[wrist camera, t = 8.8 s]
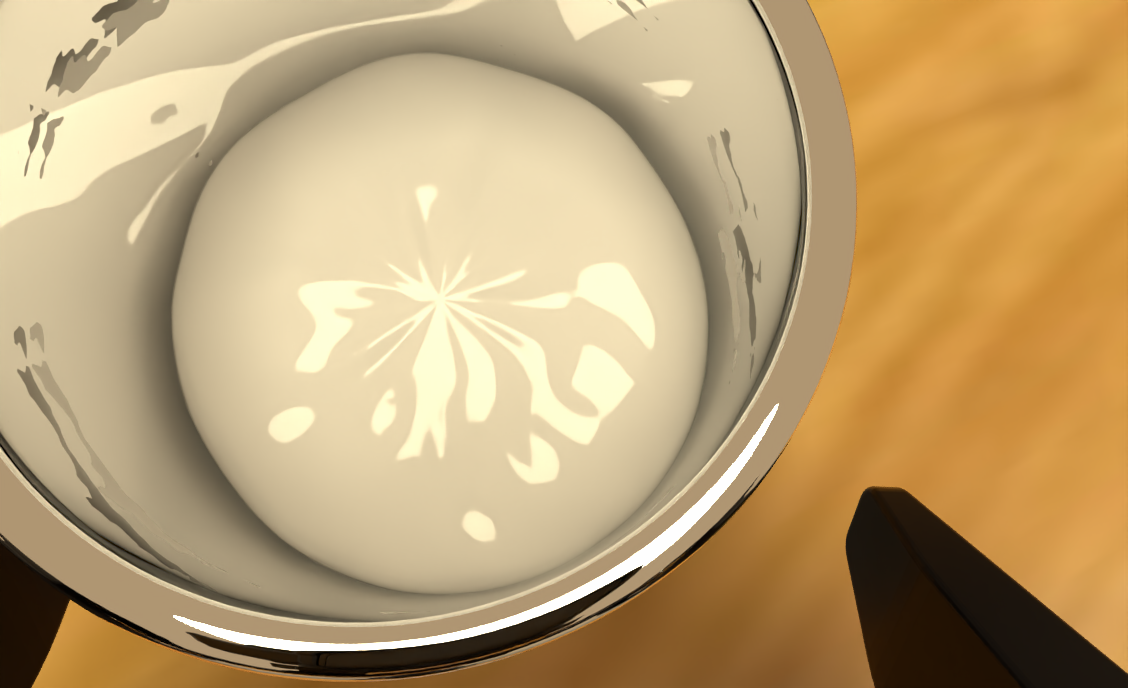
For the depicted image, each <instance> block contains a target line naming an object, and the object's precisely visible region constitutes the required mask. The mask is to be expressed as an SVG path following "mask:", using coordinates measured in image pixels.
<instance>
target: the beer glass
mask: <svg viewBox="0 0 1128 688" xmlns="http://www.w3.org/2000/svg"><path fill="white" fill-rule="evenodd" d="M857 209H858V205H857V176H856V162H855V154H854V146H853V139H852V133H851V126H850V120H849V116H848V111H847V107H846V103H845V98H844V95H843V91H842V88H841V84H840V80H839V77H838V74H837V71H836V68H835V65H834V61H833V58H832V56H831V53H830V50H829V48H828V45H827V43H826V40H825V37H824V35H823V33H822V31H821V28H820V26H819V24H818V22H817V19H816V17H815V15H814V13H813V11H812V9H811V7H810V5H809V3H808V1H807V0H0V543H1V544H2V545H3V546H4V547H5V548H6V549H7V550H8V551H9V552H10V553H11V554H12V555H13V556H15V557H16V558H17V559H18V560H19V561H20V562H21V563H22V564H24V565H25V566H26V567H27V568H29V569H30V570H31V571H32V572H33V573H35V574H36V575H37V576H38V577H40V578H41V579H42V580H43V581H45V582H46V583H48V584H49V585H50V586H52V587H53V588H54V589H56V590H57V591H59V592H60V593H61V594H63V595H64V596H66V597H67V598H69V599H70V600H72V601H73V602H75V603H77V604H78V605H80V606H81V607H83V608H84V609H86V610H88V611H89V612H91V613H93V614H95V615H96V616H98V617H100V618H101V619H103V620H105V621H107V622H108V623H110V624H112V625H115V626H117V627H119V628H121V629H123V630H125V631H127V632H129V633H131V634H133V635H135V636H137V637H140V638H142V639H144V640H146V641H149V642H151V643H153V644H155V645H158V646H161V647H163V648H166V649H169V650H172V651H174V652H177V653H180V654H183V655H186V656H189V657H192V658H195V659H198V660H201V661H205V662H208V663H212V664H216V665H220V666H224V667H228V668H232V669H236V670H241V671H246V672H251V673H256V674H262V675H269V676H276V677H283V678H291V679H301V680H312V681H332V682H371V681H386V680H399V679H408V678H417V677H425V676H431V675H437V674H443V673H449V672H454V671H458V670H463V669H468V668H473V667H477V666H480V665H484V664H488V663H491V662H495V661H499V660H502V659H505V658H508V657H511V656H515V655H518V654H521V653H524V652H527V651H529V650H532V649H535V648H537V647H540V646H542V645H545V644H548V643H550V642H553V641H555V640H557V639H559V638H562V637H564V636H566V635H568V634H571V633H573V632H575V631H577V630H579V629H581V628H583V627H585V626H587V625H589V624H591V623H593V622H595V621H597V620H599V619H601V618H603V617H604V616H606V615H608V614H610V613H611V612H613V611H615V610H617V609H618V608H620V607H622V606H623V605H625V604H627V603H628V602H630V601H631V600H633V599H634V598H636V597H638V596H639V595H641V594H642V593H644V592H645V591H647V590H648V589H650V588H651V587H652V586H654V585H655V584H657V583H658V582H659V581H661V580H662V579H664V578H665V577H666V576H668V575H669V574H670V573H671V572H673V571H674V570H675V569H676V568H678V567H679V566H680V565H681V564H683V563H684V562H685V561H686V560H687V559H689V558H690V557H691V556H692V555H693V554H694V553H695V552H697V551H698V550H699V549H700V548H701V547H702V546H703V545H704V544H706V543H707V542H708V541H709V540H710V539H711V538H712V537H713V536H714V535H715V534H716V533H717V532H718V531H719V530H720V529H721V528H722V527H723V526H724V525H725V524H726V523H727V522H728V521H729V519H730V518H731V517H732V516H733V515H734V514H735V513H736V512H737V511H738V510H739V509H740V508H741V506H742V505H743V504H744V503H745V502H746V500H747V499H748V498H749V497H750V496H751V495H752V493H753V492H754V491H755V490H756V488H757V487H758V486H759V484H760V483H761V482H762V480H763V479H764V478H765V476H766V475H767V474H768V472H769V471H770V470H771V468H772V467H773V465H774V464H775V462H776V461H777V459H778V458H779V456H780V455H781V453H782V452H783V451H784V449H785V447H786V446H787V444H788V442H789V441H790V439H791V438H792V436H793V434H794V433H795V431H796V429H797V427H798V426H799V424H800V422H801V420H802V418H803V416H804V415H805V413H806V411H807V409H808V407H809V405H810V403H811V401H812V399H813V397H814V395H815V393H816V391H817V388H818V386H819V384H820V381H821V379H822V377H823V374H824V372H825V369H826V367H827V364H828V361H829V359H830V356H831V353H832V351H833V348H834V345H835V342H836V339H837V335H838V332H839V328H840V325H841V322H842V318H843V314H844V310H845V306H846V302H847V298H848V293H849V287H850V282H851V277H852V270H853V262H854V255H855V244H856V233H857Z"/></svg>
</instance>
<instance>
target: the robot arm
mask: <svg viewBox="0 0 1128 688" xmlns="http://www.w3.org/2000/svg"><path fill="white" fill-rule="evenodd" d="M846 555H847V560H848V565H849V570H850V575H851V580H852V585H853V590H854V595H855V600H856V605H857V609H858V614H859V619H860V624H861V629H862V634H863V639H864V644H865V649H866V654H867V658H868V662H869V667H870V671H871V675H872V679H873V682H874V686H875V688H1128V673H1126V672H1125V671H1124V670H1123V669H1121V668H1120V667H1119V666H1118V665H1117V664H1115V663H1114V662H1113V661H1112V660H1111V659H1109V658H1108V657H1107V656H1106V655H1105V654H1103V653H1102V652H1101V651H1100V650H1098V649H1097V648H1096V647H1095V646H1094V645H1092V644H1091V643H1090V642H1089V641H1088V640H1086V639H1085V638H1084V637H1083V636H1082V635H1080V634H1079V633H1078V632H1077V631H1076V630H1074V629H1073V628H1072V627H1071V626H1069V625H1068V624H1067V623H1066V622H1065V621H1063V620H1062V619H1061V618H1060V617H1059V616H1057V615H1056V614H1055V613H1054V612H1053V611H1051V610H1050V609H1049V608H1048V607H1046V606H1045V605H1044V604H1043V603H1042V602H1040V601H1039V600H1038V599H1037V598H1036V597H1034V596H1033V595H1032V594H1031V593H1030V592H1028V591H1027V590H1026V589H1025V588H1024V587H1022V586H1021V585H1020V584H1019V583H1017V582H1016V581H1015V580H1014V579H1013V578H1011V577H1010V576H1009V575H1008V574H1007V573H1005V572H1004V571H1003V570H1002V569H1001V568H999V567H998V566H997V565H996V564H994V563H993V562H992V561H991V560H990V559H988V558H987V557H986V556H985V555H984V554H982V553H981V552H980V551H979V550H978V549H976V548H975V547H974V546H973V545H972V544H970V543H969V542H968V541H967V540H965V539H964V538H963V537H962V536H961V535H959V534H958V533H957V532H956V531H955V530H953V529H952V528H951V527H950V526H949V525H947V524H946V523H945V522H944V521H942V520H941V519H940V518H939V517H938V516H936V515H935V514H934V513H933V512H932V511H930V510H929V509H928V508H927V507H926V506H924V505H923V504H922V503H921V502H920V501H918V500H917V499H916V498H915V497H913V496H912V495H911V494H910V493H909V492H907V491H906V490H904V489H902V488H897V487H875V486H873V487H868V488H867V489H865V491H864V492H863V493H862V495H861V498H860V500H859V503H858V506H857V508H856V511H855V514H854V517H853V519H852V522H851V525H850V527H849V530H848V533H847V537H846ZM69 601H70V599H69V598H67V597H66V596H64V595H63V594H61V593H60V592H59V591H57V590H56V589H54V588H53V587H52V586H50V585H49V584H48V583H46V582H45V581H43V580H42V579H41V578H40V577H38V576H37V575H36V574H35V573H33V572H32V571H31V570H30V569H29V568H27V567H26V566H25V565H24V564H22V563H21V562H20V561H19V560H18V559H17V558H16V557H15V556H13V555H12V554H11V553H10V552H9V551H8V550H7V549H6V548H5V547H4V546H3V545H2V544H1V543H0V688H31V687H32V685H33V683H34V681H35V680H36V678H37V676H38V674H39V672H40V670H41V668H42V665H43V663H44V661H45V659H46V657H47V655H48V653H49V651H50V649H51V646H52V644H53V641H54V639H55V637H56V634H57V632H58V629H59V627H60V624H61V622H62V619H63V616H64V614H65V611H66V609H67V606H68V603H69Z"/></svg>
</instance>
